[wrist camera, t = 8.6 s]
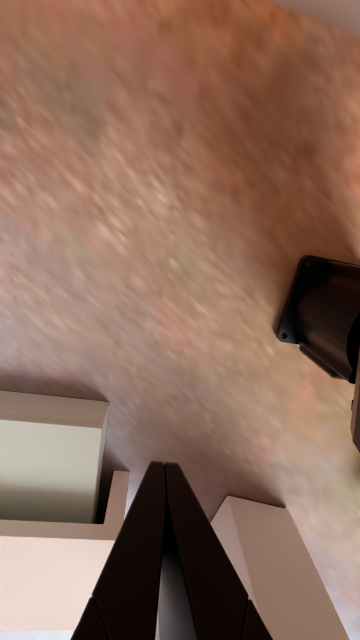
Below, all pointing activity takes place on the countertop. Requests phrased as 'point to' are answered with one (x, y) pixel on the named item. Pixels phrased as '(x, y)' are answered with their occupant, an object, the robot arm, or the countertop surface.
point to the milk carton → (277, 571)
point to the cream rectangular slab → (50, 457)
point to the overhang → (55, 566)
